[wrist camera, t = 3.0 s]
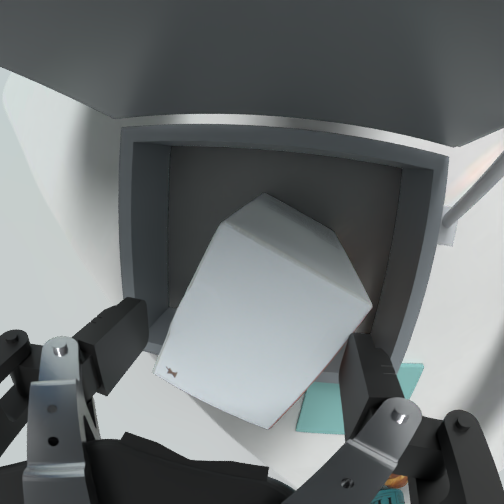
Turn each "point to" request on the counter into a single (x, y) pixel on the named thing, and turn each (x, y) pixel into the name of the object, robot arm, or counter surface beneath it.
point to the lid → (272, 59)
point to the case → (302, 141)
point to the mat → (329, 402)
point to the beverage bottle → (389, 497)
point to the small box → (263, 313)
